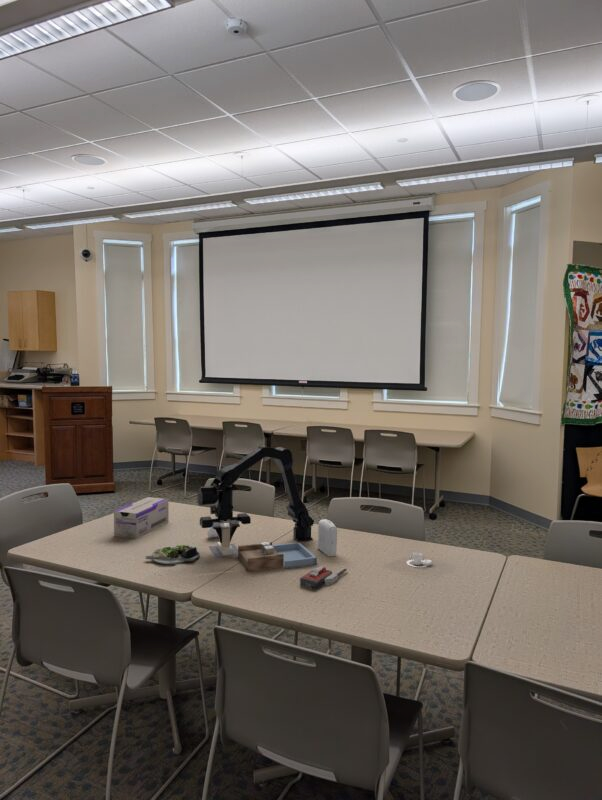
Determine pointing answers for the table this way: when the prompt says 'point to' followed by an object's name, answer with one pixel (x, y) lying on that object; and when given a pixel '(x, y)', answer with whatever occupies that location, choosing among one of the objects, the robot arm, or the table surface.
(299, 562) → the chip tray
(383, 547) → the table surface
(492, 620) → the table surface
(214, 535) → the bust
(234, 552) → the mat
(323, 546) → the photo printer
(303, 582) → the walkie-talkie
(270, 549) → the grey square block
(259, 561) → the groove block
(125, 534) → the surgical sutures box
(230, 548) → the plate with square knob
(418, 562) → the teacup and saucer
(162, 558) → the salad plate
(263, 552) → the chip
